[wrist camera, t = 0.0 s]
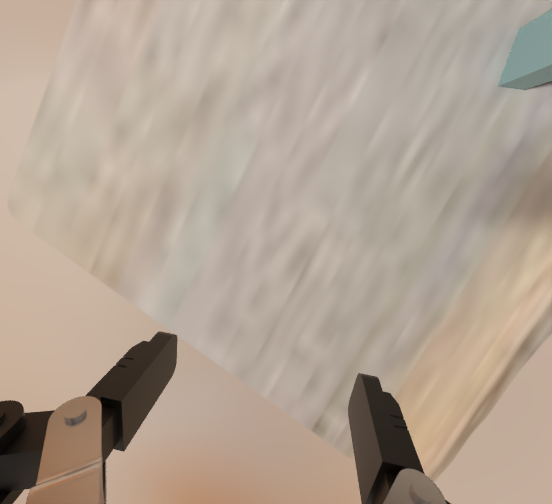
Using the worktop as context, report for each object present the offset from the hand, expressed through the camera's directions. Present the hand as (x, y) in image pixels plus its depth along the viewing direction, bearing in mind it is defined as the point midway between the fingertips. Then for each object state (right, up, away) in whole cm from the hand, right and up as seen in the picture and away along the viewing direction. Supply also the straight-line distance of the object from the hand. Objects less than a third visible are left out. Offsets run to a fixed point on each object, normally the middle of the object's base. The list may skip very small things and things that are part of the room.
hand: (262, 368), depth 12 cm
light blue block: (+28, +27, +19) cm, 43 cm away
